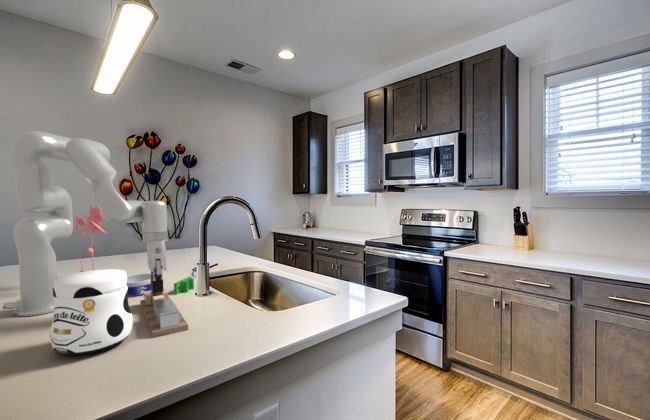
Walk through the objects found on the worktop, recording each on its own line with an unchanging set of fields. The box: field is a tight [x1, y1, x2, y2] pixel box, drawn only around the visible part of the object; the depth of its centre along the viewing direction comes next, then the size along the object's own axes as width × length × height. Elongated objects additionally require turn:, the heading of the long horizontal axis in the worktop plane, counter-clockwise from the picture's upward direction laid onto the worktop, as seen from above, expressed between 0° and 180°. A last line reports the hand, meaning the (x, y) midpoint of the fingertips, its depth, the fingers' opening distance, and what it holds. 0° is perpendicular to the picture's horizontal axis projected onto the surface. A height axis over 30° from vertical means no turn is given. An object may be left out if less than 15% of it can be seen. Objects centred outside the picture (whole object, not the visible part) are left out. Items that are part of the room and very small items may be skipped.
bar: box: [151, 275, 165, 304], centre depth 106 cm, size 20×3×10 cm, turn 34°
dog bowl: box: [126, 272, 151, 299], centre depth 131 cm, size 15×15×6 cm
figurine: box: [75, 204, 107, 272], centre depth 146 cm, size 15×26×35 cm, turn 58°
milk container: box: [49, 268, 134, 356], centre depth 84 cm, size 17×17×18 cm
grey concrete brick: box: [153, 297, 180, 329], centre depth 97 cm, size 15×5×4 cm, turn 34°
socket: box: [143, 287, 169, 305], centre depth 115 cm, size 7×7×3 cm
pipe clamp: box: [173, 275, 195, 295], centre depth 133 cm, size 11×4×5 cm, turn 173°
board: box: [139, 295, 189, 339], centre depth 104 cm, size 34×9×2 cm, turn 34°
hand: (157, 289), depth 111 cm, fingers closed on bar, 4 cm apart
